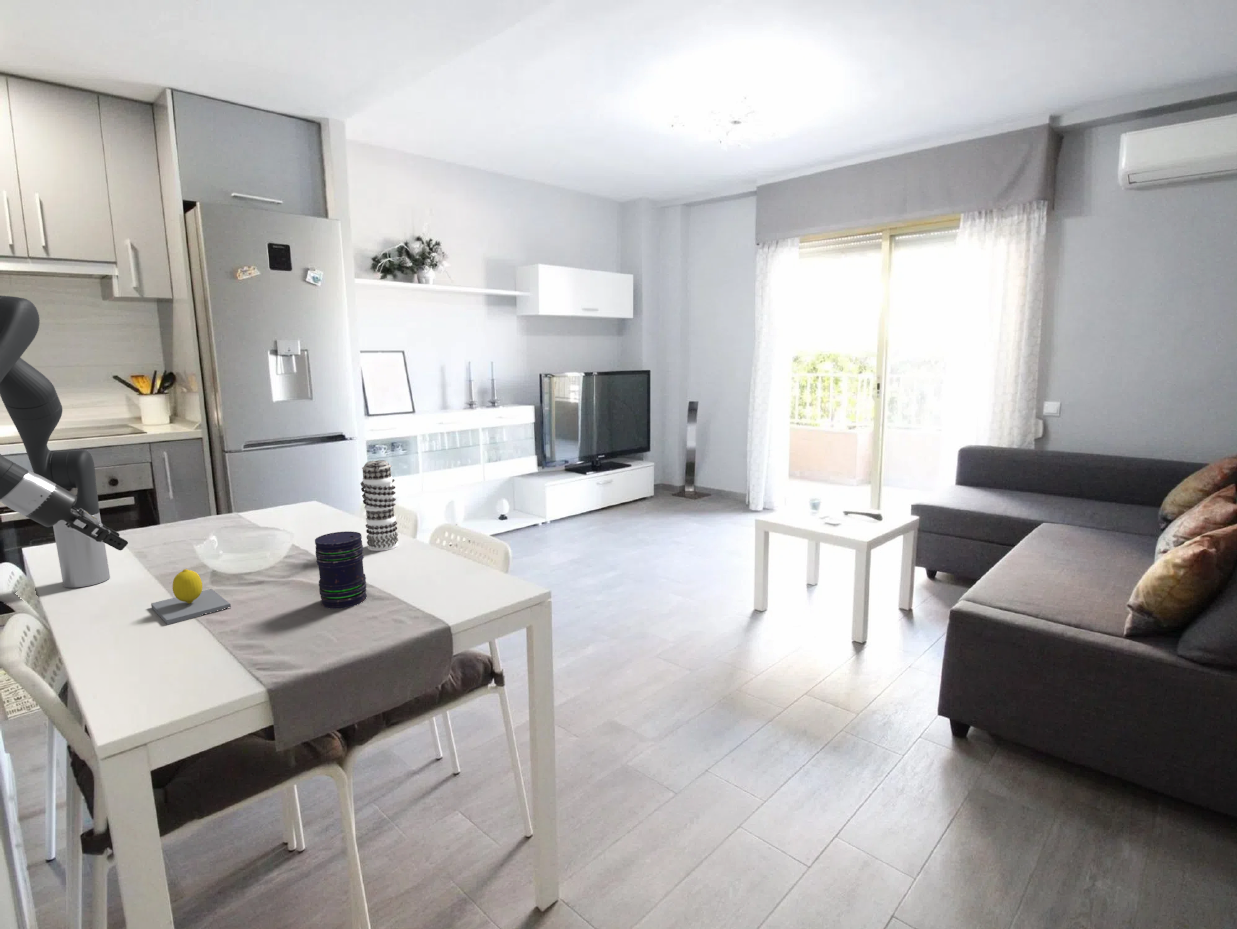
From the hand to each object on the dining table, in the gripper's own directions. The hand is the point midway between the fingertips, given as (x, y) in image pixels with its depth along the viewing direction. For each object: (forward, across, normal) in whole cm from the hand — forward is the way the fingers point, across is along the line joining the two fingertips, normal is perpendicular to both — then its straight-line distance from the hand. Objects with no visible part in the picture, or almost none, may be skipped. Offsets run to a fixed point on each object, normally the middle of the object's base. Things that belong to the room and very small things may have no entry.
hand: (120, 542), depth 137 cm
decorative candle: (+56, +10, -31) cm, 65 cm away
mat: (+20, -1, +5) cm, 21 cm away
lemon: (+19, -1, +4) cm, 20 cm away
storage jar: (+38, -23, -13) cm, 46 cm away
